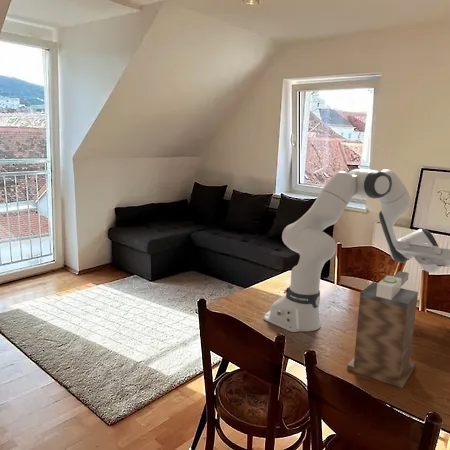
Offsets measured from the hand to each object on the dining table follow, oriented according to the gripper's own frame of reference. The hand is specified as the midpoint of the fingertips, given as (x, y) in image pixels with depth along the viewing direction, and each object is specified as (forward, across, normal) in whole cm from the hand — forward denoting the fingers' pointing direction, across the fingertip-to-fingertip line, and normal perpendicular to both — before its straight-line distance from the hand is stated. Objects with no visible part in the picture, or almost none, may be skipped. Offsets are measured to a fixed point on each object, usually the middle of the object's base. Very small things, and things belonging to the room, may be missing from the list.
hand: (420, 245), depth 161 cm
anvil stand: (+17, 0, +46) cm, 50 cm away
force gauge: (+26, 0, +22) cm, 34 cm away
